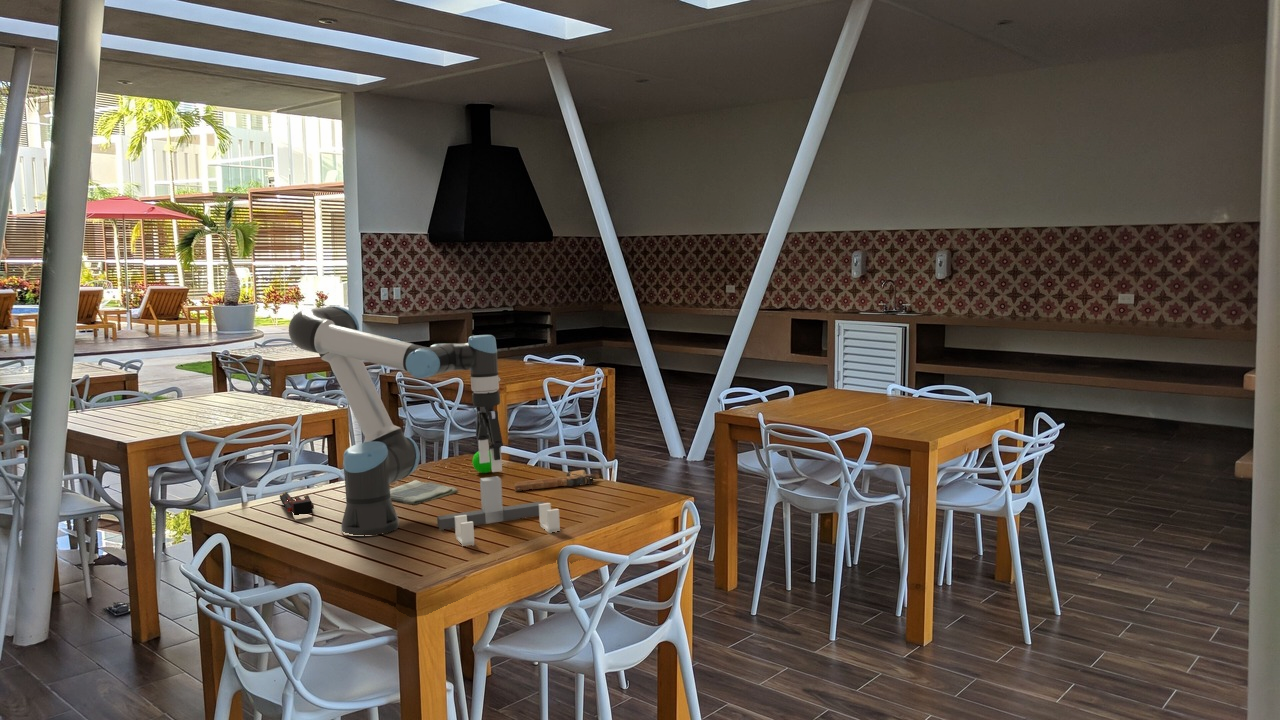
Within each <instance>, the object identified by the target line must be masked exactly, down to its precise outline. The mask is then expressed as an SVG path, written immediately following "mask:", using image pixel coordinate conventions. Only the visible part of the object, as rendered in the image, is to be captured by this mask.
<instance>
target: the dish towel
mask: <svg viewBox="0 0 1280 720" xmlns="http://www.w3.org/2000/svg"><path fill="white" fill-rule="evenodd" d="M458 492H459V490H458V488H456V487H454V486H446V485H443V484H439V483H435V482H432V481H429V482H423V481H419V480H417V479H414V480H413V481H411V482H407V483H405V484H401V485H399V486H395V487H392V488H390V498H391V500H392V501H391V502H396V501H397V503H401V504H406V503H407V504H406V505H412V504H413V505H412V506H415V505H418V503H419V504H422V503H425V502H424V501H426V502H429V501H428V500H430V501H432V500H436V499H440V498H444V497H447V496H450V495H453V494H457V493H458ZM421 502H422V503H421ZM414 504H415V505H414Z"/></svg>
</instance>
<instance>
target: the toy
mask: <svg viewBox="0 0 1280 720" xmlns="http://www.w3.org/2000/svg"><path fill="white" fill-rule="evenodd" d="M303 495H304V496H303V499H302V498H301V497H299V496H298V497H295V499H296V501H294V500H293V499H292V497H291V495H290V494H289V493H288V492H286V491H285V492H283V493H281V494H279V500H280V502H281V503H282V505H283V504H284V505H283V507H284V506H285V507H284V508H285V510H286V511H287V513H292V512H293V513H294V515H299V514H308V513H312V514H313V510H314V509H315V508H314V505H315V504H314V503H313V502H312V500H311V498H310V496H309V495H308V494H306V495H305V494H303ZM304 498H305V499H304ZM287 500H288V501H287ZM291 511H292V512H291Z"/></svg>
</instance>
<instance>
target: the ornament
mask: <svg viewBox="0 0 1280 720" xmlns="http://www.w3.org/2000/svg"><path fill="white" fill-rule="evenodd" d="M489 459H490V462H487V463H480V459H479V450H478V451H477V452H475V454H473V457H472V465H473V466H472V467H473V468H474V470H475V471H477V472H478V473H481V474H487V473H490V472H492V466H491V451H490V450H489Z"/></svg>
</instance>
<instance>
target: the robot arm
mask: <svg viewBox="0 0 1280 720" xmlns="http://www.w3.org/2000/svg"><path fill="white" fill-rule="evenodd" d="M359 323H360V322H359V321H358V319H357V317H356V316H355V314H353V312H352V311H351V310H349V309H347V308H346V307H342V306H335V305H334V306H333V305H332V306H331V305H330V306H326V307H318V308H307V309H302V310H300V311H299V312H297V313H296V314H294V316H293V317H292V318H291V319H290V322H289V325H288V335H289V338H290V340H291V342H292V344H294V345H295V346H296V347H297V348H298V349H300V350H302V351H307V352H310V353H314V354H315V353H317V354H318V355H319V356H320V359H321V360H322V361H324V362H327V363H328V364H329V365H330V368H331V369H332V371H333V373H334V376H335V378H336V379H337V382H338V384H339V386H340V387H341V390H342V392H343V394H344V396H345V399H346V401H347V403H348V405H349V407H350V409H351V411H352V413H353V416H354V417H355V420H356V421H357V424H358V426H359V428H360V430H361V432H362V434H363V436H364V441H363V442H362V443H356V444H353V445H352V446H349V447H348V448H347V449H345V451H344V452H343V461H342V467H343V474H344V487H345V488H344V489H345V498H346V505H345V509H344V513H343V517H342V522H341V525H340V526H341V532H342V531H343V532H345V533H349V534H353V535H364V536H365V535H376V534H382V533H386V534H388V533H387V532H389V533H391V531H392V532H394V531H396V530H398V528H399V527H400V523H399V521H400V520H399V517H398V514H397V512H396V510H395V507H394V504H393V501H391V498H390V489H391V487H390V484H393V483H395V482H397V481H400V480H403V479H405V478H407V477H408V476H410V475H412V474H413V473H414V472H415V471H416V469H417V467H418V466H419V463H420V458H421V453H420V448H419V446H418V444H417V443H416V442H415V440H414V439H413V438H410V437H408V436H406V435H405V434H404V432H403V430H402V428H401V426H397V425H395V424H394V423H393V421H392V420H391V417H390V416H389V413H388V411H387V409H386V407H385V405H384V402H383V401H382V399H381V396H380V395H379V392H378V390H377V387H376V386H375V384H374V381H373V380H372V377H371V375H370V373H369V372H368V369H367V367H366V365H365V363H364V362H368V363H372V364H375V365H378V366H379V365H381V366H383V367H388V368H391V369H396V370H399V371H404V372H408V373H409V374H410V376H412V377H413V378H416V379H428V378H430V377H433V376H436V375H441V374H444V373H447V372H448V373H449V372H452V371H454V372H455V371H469V372H470V385H471V387H470V389H471V391H472V394H471V397H472V398H471V399H472V405H473V407H476V422H475V423H476V425H475V428H476V429H475V437H477V438H476V439H477V440H478V451H479V459H480V463H487V462H490V459H489V451H491V466H492V471H491V472H492V473H497V472H503V462H502V460H503V459H502V447H503V446H504V442H503V438H502V432H501V427H500V421H499V412H498V410H495V409H494V407H495V406H499V405H500V404H501V393H500V391H499V389H500V381H501V378H500V377H499V368H498V367H499V364H498V363H499V362H498V349H497V341H496V337H495V336H494V335H492V334H479V335H471V336H469V337H468V342H465V343H463V342H462V343H460V342H459V343H444V342H443V343H434V344H432V345H430V346H429V347H427V346H422V345H419V344H414V343H411V342H407V341H403V340H398V339H396V338H395V339H394V338H390V337H387V336H382V335H378V334H374V333H369V332H365V331H361V330H360V324H359ZM489 443H490V445H489ZM393 530H394V531H393ZM382 535H383V534H382Z"/></svg>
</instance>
